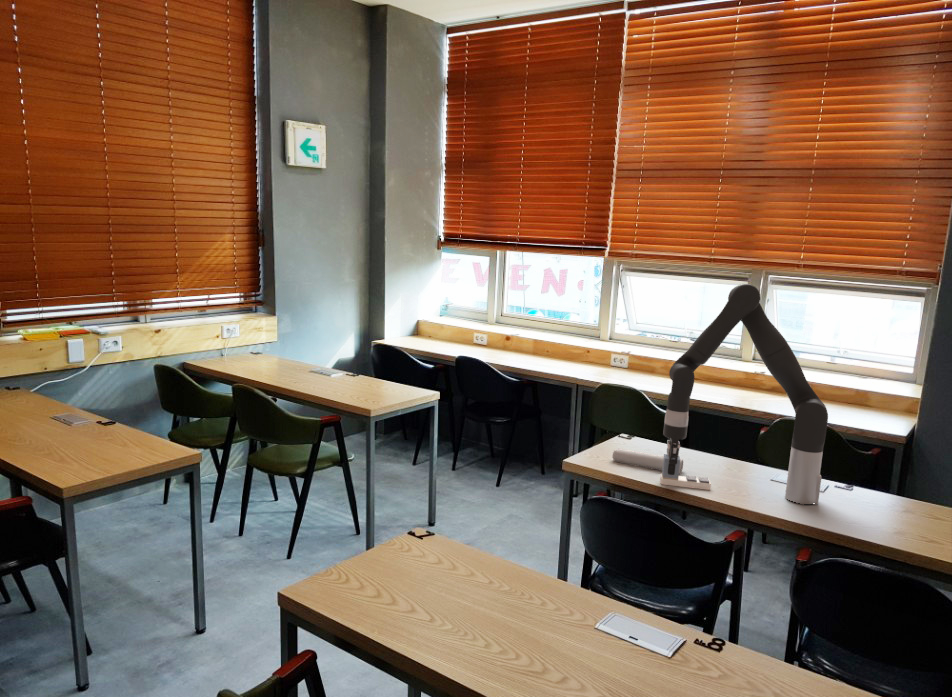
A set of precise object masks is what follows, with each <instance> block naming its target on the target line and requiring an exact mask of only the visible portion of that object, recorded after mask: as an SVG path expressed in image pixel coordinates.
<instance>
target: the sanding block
mask: <svg viewBox="0 0 952 697" xmlns="http://www.w3.org/2000/svg"><path fill="white" fill-rule="evenodd" d="M663 456H664V459H663V469H662V470H661V474H662V477H663V479H671V480H678V477H679V476H680V474H679V468H680V459H681V458H680V455H679V456H678V459H677V464H676V466H675V474H674V475H669V474H668V465H669V462H668V461H669V456H668V455H667V453H666V454H663ZM671 460H675V458H671Z"/></svg>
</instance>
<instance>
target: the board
mask: <svg viewBox="0 0 952 697" xmlns="http://www.w3.org/2000/svg"><path fill="white" fill-rule="evenodd" d="M696 479H697V482H692V481H687V478H686V476H682V475H679V477H678V480H671V479H663V477H662V473H660V474H659V482H660V485H662V486H663V485H666V486H674V487H681V488H693V489H698V490H699V489H700V490H709V491H710V490H711V488H712V487H711V485H712V483H711V481H710V479H709V483H701V482H700V481H699V477H696Z"/></svg>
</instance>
